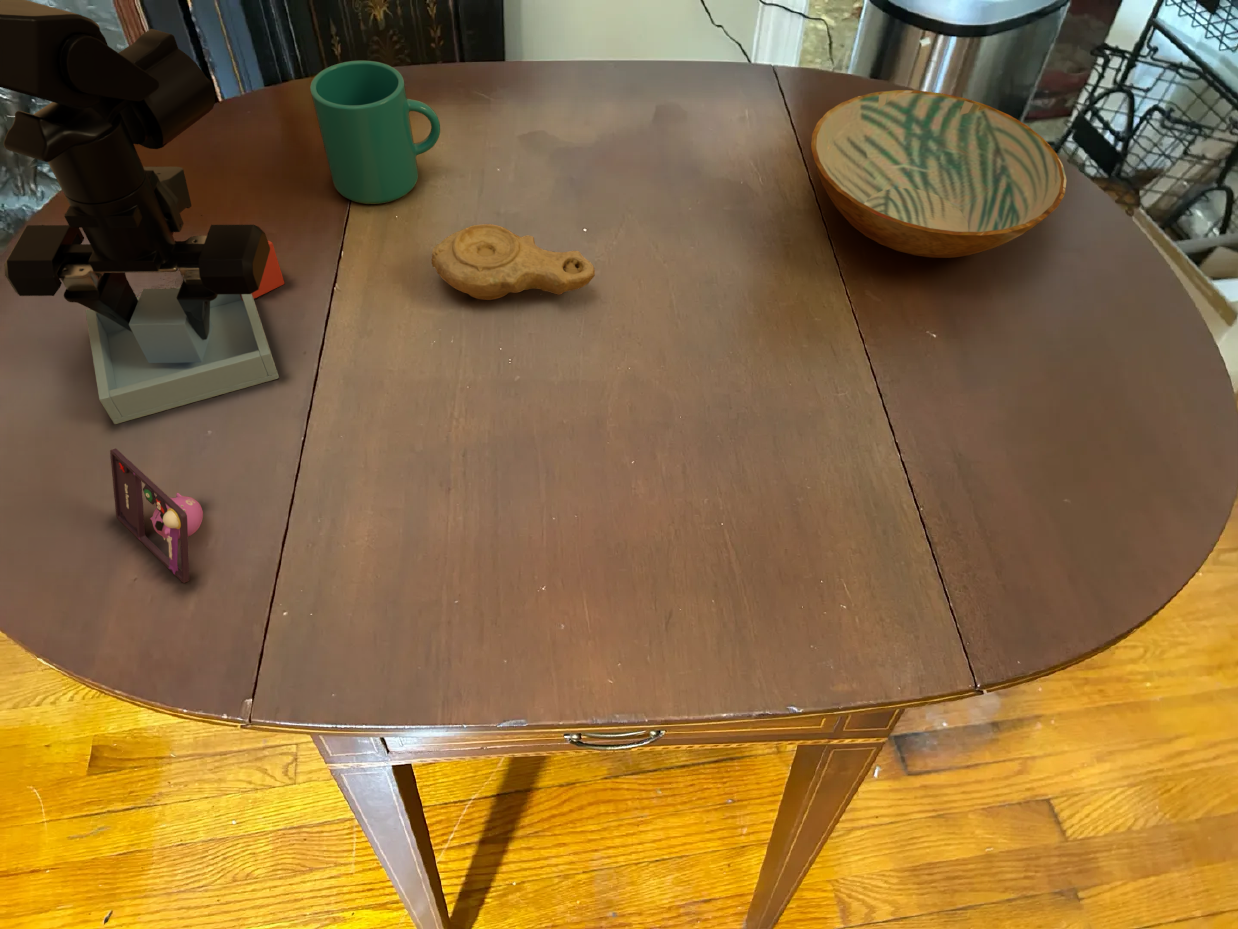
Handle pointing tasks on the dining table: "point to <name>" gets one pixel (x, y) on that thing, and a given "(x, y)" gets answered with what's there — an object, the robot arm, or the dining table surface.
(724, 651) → the dining table surface
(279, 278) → the red block
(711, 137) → the dining table surface
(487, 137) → the dining table surface
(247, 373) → the gray tray
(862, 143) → the bowl
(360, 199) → the cup
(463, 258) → the oil lamp
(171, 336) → the gray block
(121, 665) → the dining table surface
